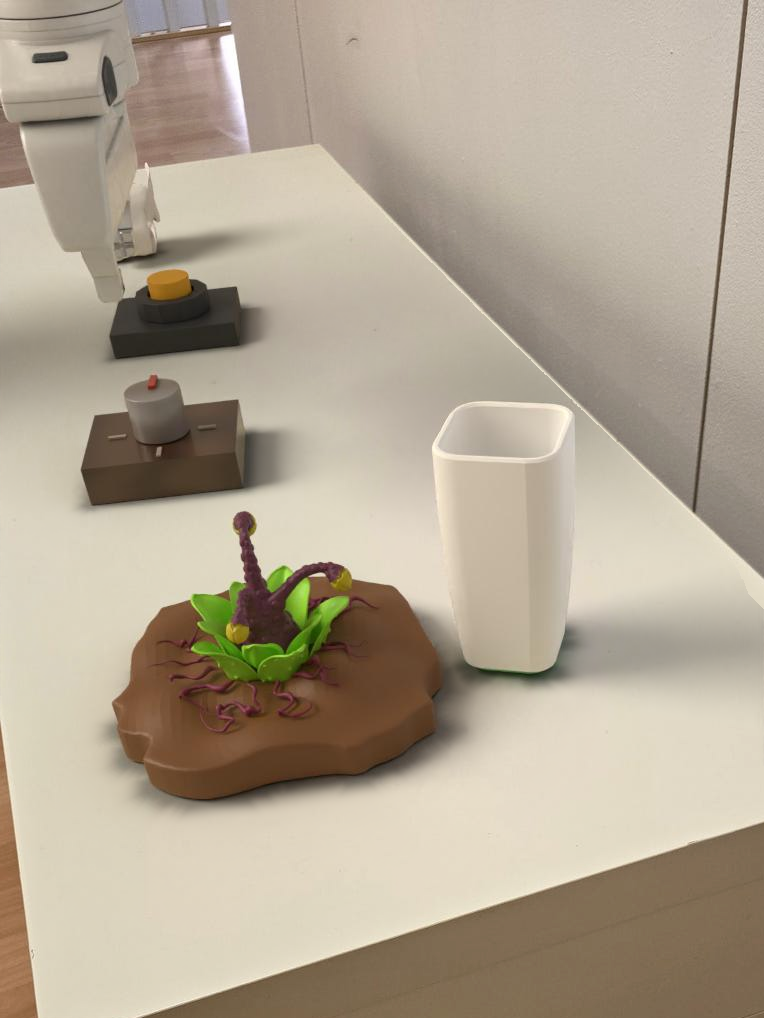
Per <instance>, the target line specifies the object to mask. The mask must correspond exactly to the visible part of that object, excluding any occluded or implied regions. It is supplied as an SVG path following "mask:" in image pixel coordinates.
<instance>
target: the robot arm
mask: <svg viewBox="0 0 764 1018" xmlns="http://www.w3.org/2000/svg"><path fill="white" fill-rule="evenodd" d="M132 41H133V39H132V36H131V31H130V26H129V22H128V16H127V11H126V8H125V4H124V0H0V103H1V107H2V110H3V114H4V117H5V119H6V121H8V122H9V123H11V124H12V123H13V124H14V123H19V134H20V141H21V145H22V148H23V151H24V152H23V153H24V155H25V158H26V162H27V165H28V168H29V170H30V171H29V172H30V174H31V177H32V180H33V183H34V186H35V190H36V192H37V194H38V197H39V201H40V203H41V206H42V209H43V212H44V215H45V218H46V220H47V224H48V226H49V228H50V232H51V233H52V235H53V237H54V239H55V241H56V242H57V244H58V246H59V247H60V249H61V250H62V251H63V252H65V253H80V254H81V257H82V259H83V262H84V264H85V266H86V268H87V270H88V272H89V273H90V277H92V279H93V283H94V287H95V291H96V296H97V298H98V300H99V301H100V302H101V303H104V304H107V303H108V304H109V303H118V302H119V301H121V300H122V299H123V298H124V296H125V291H126V286H125V283H124V278H123V274H122V269H121V267H119V264H118V261H116V257H117V258H123V257H128V258H132V257H134V256H133V255H134V254H135V251H136V248H137V243H136V238H135V234H134V229H133V221H132V209H131V198H130V190H131V187H132V184H133V183H134V180H135V177H136V174H137V171H138V167H139V166H138V154H137V147H136V142H135V139H134V133H133V131H132V125H131V122H130V118H129V114H128V107H127V106H128V105H127V102H126V98H125V92H126V91H128V90H130V89H131V88H134V87H135V86H137V85H138V83H139V81H140V74H139V70H138V64H137V60H136V56H135V51H134V47H133V46H134V45H133V42H132Z"/></svg>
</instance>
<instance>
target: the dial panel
mask: <svg viewBox="0 0 764 1018" xmlns="http://www.w3.org/2000/svg"><path fill="white" fill-rule="evenodd" d="M184 406H185V410H186V415H187V419H188V423H189V431H188V433H187V434H186V435H185V436H183V437H182V438H180V439H178V440H175V441H172V442H168V443H164V444H145V443H141V442H139V441H138V440H136V438H135V436H134V432H133V429H132V425H131V421H130V417H129V414H128V411H121V412H112V413H103V414H95V415H93V419H92V424H91V427H90V431H89V435H88V439H87V443H86V448H85V451H84V455H83V459H82V464H81V467H80V473H81V476H82V480H83V483H84V486H85V490H86V492H87V496H88V498H89V502H90V505H91V506H97V505H104V504H113V503H123V502H129V501H130V502H131V501H140V500H147V499H149V500H150V499H156V498H165V497H166V498H167V497H173V496H182V495H192V494H199V493H201V494H202V493H210V492H219V491H226V490H235V489H243V488H244V473H245V472H244V470H245V452H246V451H245V449H246V429H245V424H244V419H243V415H242V411H241V410H242V409H241V404H240V400H239V399H238V398H237V399H228V400H227V399H226V400H219V401H209V402H202V403H192V404H184Z"/></svg>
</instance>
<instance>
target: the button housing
mask: <svg viewBox="0 0 764 1018" xmlns="http://www.w3.org/2000/svg"><path fill="white" fill-rule="evenodd" d="M189 281H190V285H191V290H192V292H191V293H190V294H188V295H186V296H183V297H180V298H176V299H170V300H155V299H151V296H150V292H149V288H148V284H146V285H145V286H143V287H141V288H140V289H138V290H136V291H135V295H134V297H123V299H122V300H121V301H119V302H117V305H116V309H115V313H114V316H113V321H112V324H111V327H110V332H109V335H108V337H109V341H110V345H111V348H112V352H113V356H114V358H115V359H124V358H133V357H140V356H149V355H157V354H160V355H161V354H168V353H177V352H178V353H179V352H185V351H195V350H204V349H213V348H223V347H231V346H239V345H240V332H241V331H240V330H241V316H242V315H241V313H242V306H241V300H240V295H239V289H238V286H235V285H234V286H227V287H218V288H208V285H207V284H206V283H204V282H203V281H201V280H199V279H196V278H195V279H194V278H189Z"/></svg>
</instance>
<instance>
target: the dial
mask: <svg viewBox="0 0 764 1018" xmlns="http://www.w3.org/2000/svg"><path fill="white" fill-rule="evenodd" d="M123 399H124V402H125V406H126V410H127V412H128V414H129V417H130V421H131V425H132V429H133V432H134V436H135V438H136V440H138V441H139V442H141V443H145V444H164V443H168V442H172V441H175V440H178V439H180V438H182V437H183V436H185V435H186V434H187V433H188V431H189V423H188V419H187V415H186V410H185V406H184V405H185V402H184V398H183V393H182V389H181V385H180V384H179V382H177V381H176V380H173V379H170V378H159V376H158V374H150V375H149V378H148V379H144V380H142V381H137V382H136V383H133V384H131V385H130V386H128V387H127V388H126V389H125V390H124V392H123Z"/></svg>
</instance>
